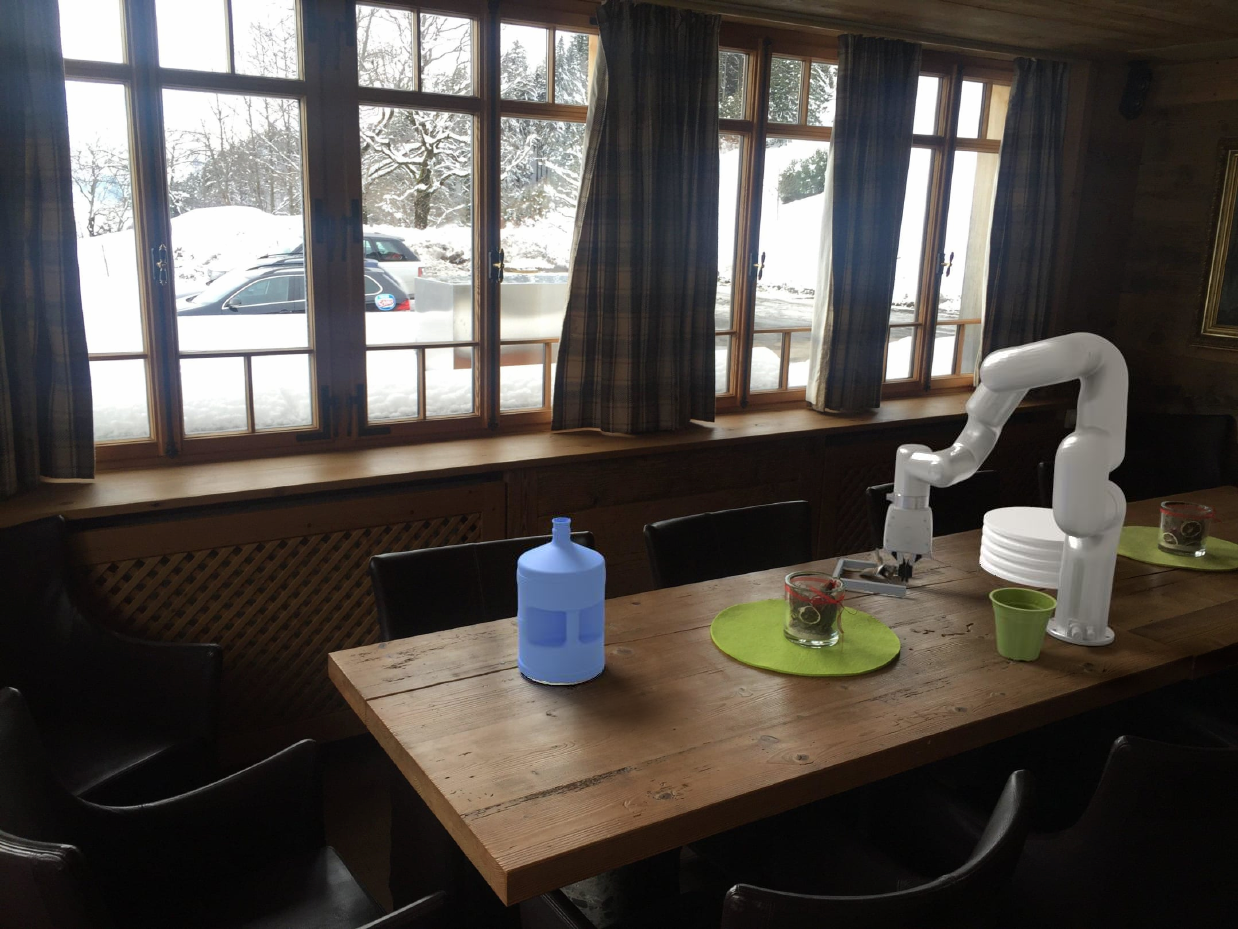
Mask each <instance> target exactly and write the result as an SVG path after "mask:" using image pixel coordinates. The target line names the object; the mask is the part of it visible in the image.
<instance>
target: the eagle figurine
mask: <svg viewBox="0 0 1238 929" xmlns="http://www.w3.org/2000/svg"><path fill="white" fill-rule="evenodd" d="M874 562H876V564H877V565H878V566H877V567H876V568H868V569H865V570H864V571H863V572H859V573H860V574H859V573H858V574H859V575H858V576H861V575H862V576H863V575H866V576H873V575H876V576H877V575H880V576H881V577H883V578H884V579H886V583H887V582H888V583H889V584H890V582H891V580H892V578H893V577H894V576H893V575H894V574H895V573H896V572H897V571H898V570H899V567H898V568H897V569H896V566H895V565H896V564H893V563H892V564H893V566H892V569H891V570H890V569H889V570H888V569H887V568H885V567H884V564H883V563H884V558H883V556H881V555H880V549H879V548H878V547H877V548H875V550H874ZM886 572H888V575H886ZM875 573H876V574H875Z"/></svg>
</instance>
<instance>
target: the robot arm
mask: <svg viewBox="0 0 1238 929" xmlns="http://www.w3.org/2000/svg"><path fill="white" fill-rule="evenodd" d="M979 368H980V370H979V377H980V383H979V384H978V386H977V387H976V389H975V390H974V392H973V393H972V394H971V396H970V397H969V399H968V400H967V401H966V404H965V410H966V412H967V415H968V417H967V418H968V419H967V422H966V425H965V427H964V428H963V430H962V431H961V433H960V435H958V437H957V439H956V440H955V441H954V443H953V444H952V445H951V446H950V447H948V448H945V449H942V450H937V451H933V450H932V449H931V448H930V447H928V446H927V445H924V444H916V443H910V444H909V443H908V444H901V445H900V446H899V447H897V450H896V458H895V459H896V460H895V469H894V470H895V472H894V483H893V484H894V487H893V492H892V493H886V500H888V501H891V503H890V504H889V506H888V509H887V512H886V517H885V523H884V531H883V532H884V533H883V546H882V550H881V552H882V553H884V554H887V555H889V556H892V557H893V559H894V560H895V561H896V562H897V565H899V570H898V576H900V577H899V578H900V582H905V583H909V580H910V578H913V571H914V570H913V568H914V564H915V563H917V562H918V561H920V560H921V559H929V558H930V559H931V558H932V556H933V552H932V543H933V529H934V528H933V512H932V508H931V507H930V506H929V502H930V493H931V492H930V489H931V486H933V487H937V488H947V487H950V486H952V485H953V486H954V485H956V484H957V483H959V482H963V481H964V480H967V479H969V478H971V477H972V476H973V475H974V474H975V473H976V472H977V471H978V469H979V468H980V467H981V465H982V464H983V463H984V461H985V460H986V459H987V458H988V456H989V455H990V453H991V452H992V451H993V449H994V448H995V445H996V444H997V442H998V439H999V437H1000V435H1001V432H1002V431H1003V430H1002V429H1003V427H1004V425H1005V424H1006V423H1007V421H1008V419H1010V417H1011V415H1012V414H1013V412H1014V411H1015V410H1016V408H1017V407H1018V406H1019V404H1020V403H1021V401H1022V400H1024V399H1023V398H1024V397H1025V396H1026V395H1027V393H1028V392H1029V390H1031V389H1034V388H1035V389H1036V388H1040V387H1045V386H1050V385H1055V384H1061V383H1064V382H1069V381H1072V380H1077V379H1079V380H1080V388H1079V389H1080V390H1079V394H1078V398H1077V407H1076V410H1077V412H1076V413H1077V415H1076V424H1075V425H1076V426H1075V429H1074V431H1073V432H1072V433H1070V434H1068V435H1066V437H1065V438H1063V439H1062V441H1061V442H1060V443H1059V445H1058V448H1057V450H1056V454H1055V457H1054V458H1055V460H1054V473H1053V487H1052V488H1053V489H1052V490H1053V492H1052V509H1053V516H1054V520H1055V522H1056V524H1057V526H1058V527H1059V528H1060V530H1061V531H1063V532H1064V533H1065V534H1066V536H1065V541H1064V547H1063V555H1062V562H1061V570H1060V579H1059V587H1058V589H1057V596H1056V601H1057V603H1058V605H1057V607H1056V608H1055V611H1054V612H1055V614H1054V617H1051V618H1050V619H1049V622H1048V625H1047V628H1046V632H1047V633H1048V634H1049V635H1050V636H1052V637H1053V638H1055V639H1058V640H1061V641H1063V642H1066V643H1071V644H1075V645H1079V646H1089V647H1092V646H1094V647H1098V646H1100V647H1101V646H1106V645H1109V644H1111V643H1113V641H1114V639H1115V632H1114V630H1112V629H1111V627H1109V626H1108V620H1109V613H1110V605H1111V598H1112V592H1113V591H1112V590H1113V583H1114V577H1115V576H1114V575H1115V568H1116V563H1117V562H1116V561H1117V555H1118V549H1119V544H1120V538H1121V535H1122V530H1123V526H1124V523H1125V519H1126V518H1125V517H1126V513H1127V501H1126V498H1125V494H1124V492H1123V491H1122V489H1121V487H1119V486H1118V484H1116V483H1114V482H1113V481H1111V480H1109V475H1110V473H1111V472H1113V471H1114V470H1115V469H1117V468H1118V467H1120V466H1121V463H1122V462H1123V460H1124V458H1125V453H1126V435H1127V434H1126V433H1127V432H1126V430H1127V416H1128V413H1127V412H1128V395H1129V394H1128V393H1129V371H1128V366H1127V363H1126V360H1125V358H1124V356H1123V354H1122V353H1121V350H1119V349H1118V347H1116V346H1115V345H1114V344H1113V343H1112V342H1110V341H1109V340H1108V339H1106V338H1104V337H1102V336H1100V335H1098V334H1094V333H1090V332H1074V333H1070V334H1069V333H1068V334H1066V335H1065V334H1064V335H1060V336H1055V337H1051V338H1047V339H1043V340H1038V341H1036V342H1034V341H1033V342H1030V343H1026V344H1023V345H1019V346H1011V347H1007V348H1001V349H997V350H994V351H993V352H990V353H989V354H988V355H987V356H986V357H985V358H984V359H983V362H982V363H981V366H980V367H979ZM905 554H910V556H909V558H908V559H907V561H906V559H905ZM905 570H906V572H905Z"/></svg>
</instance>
